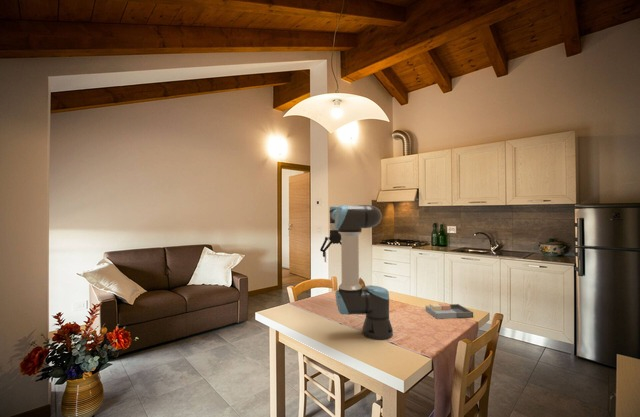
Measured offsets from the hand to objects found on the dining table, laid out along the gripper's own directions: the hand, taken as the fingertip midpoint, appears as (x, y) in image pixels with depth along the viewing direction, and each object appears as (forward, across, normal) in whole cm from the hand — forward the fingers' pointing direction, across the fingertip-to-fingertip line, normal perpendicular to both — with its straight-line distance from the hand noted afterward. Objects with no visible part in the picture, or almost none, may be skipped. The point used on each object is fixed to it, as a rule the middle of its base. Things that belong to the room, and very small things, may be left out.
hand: (335, 261), depth 199 cm
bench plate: (+28, -58, +27) cm, 70 cm away
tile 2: (+25, -61, +27) cm, 71 cm away
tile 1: (+25, -55, +27) cm, 66 cm away
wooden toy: (+28, -17, -16) cm, 37 cm away
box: (+28, -69, +27) cm, 79 cm away
